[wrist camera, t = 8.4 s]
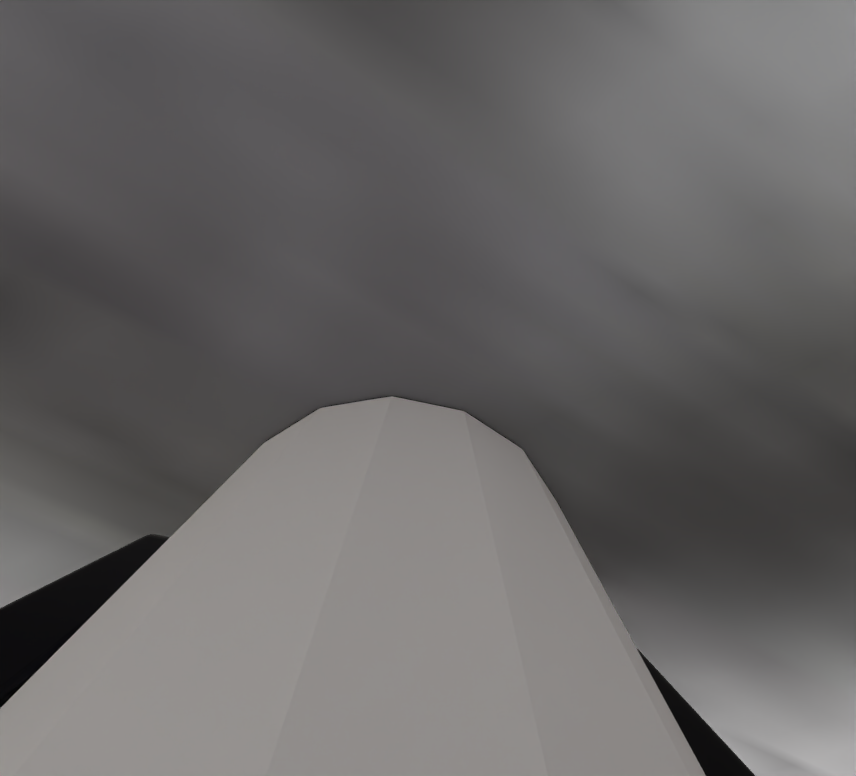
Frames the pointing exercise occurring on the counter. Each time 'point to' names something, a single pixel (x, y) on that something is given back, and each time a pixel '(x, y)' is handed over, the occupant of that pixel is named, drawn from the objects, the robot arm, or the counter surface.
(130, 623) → the white cup
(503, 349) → the counter surface
